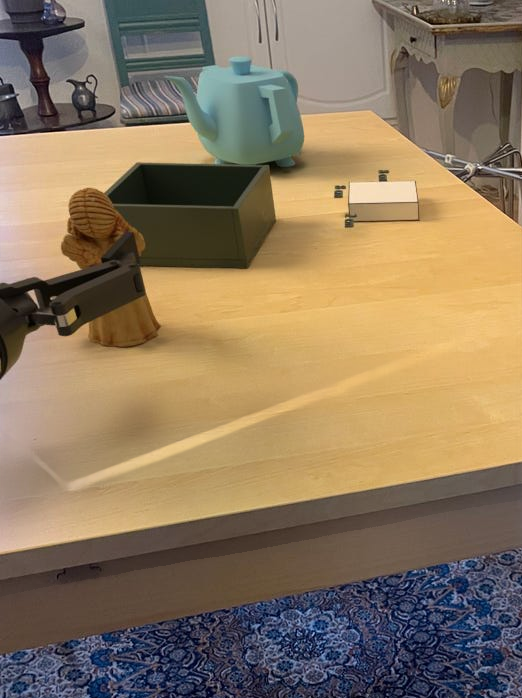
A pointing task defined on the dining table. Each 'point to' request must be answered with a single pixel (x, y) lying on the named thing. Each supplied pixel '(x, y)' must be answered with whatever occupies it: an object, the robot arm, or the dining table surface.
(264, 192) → the bin
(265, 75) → the teapot
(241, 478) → the dining table surface
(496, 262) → the dining table surface
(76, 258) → the figurine
